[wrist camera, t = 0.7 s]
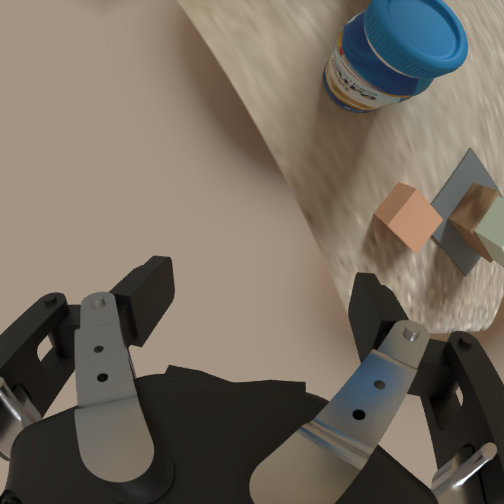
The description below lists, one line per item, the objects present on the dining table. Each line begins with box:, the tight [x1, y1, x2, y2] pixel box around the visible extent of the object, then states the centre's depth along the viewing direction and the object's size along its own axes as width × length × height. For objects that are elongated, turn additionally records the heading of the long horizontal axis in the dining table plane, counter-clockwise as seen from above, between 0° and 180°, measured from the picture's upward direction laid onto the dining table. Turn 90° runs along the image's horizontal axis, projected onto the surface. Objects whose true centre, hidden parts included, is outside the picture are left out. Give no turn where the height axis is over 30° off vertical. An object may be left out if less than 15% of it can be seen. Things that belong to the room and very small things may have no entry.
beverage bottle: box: [323, 0, 468, 113], centre depth 18 cm, size 8×8×20 cm
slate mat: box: [430, 148, 503, 276], centre depth 30 cm, size 14×14×1 cm
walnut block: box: [448, 183, 501, 263], centre depth 27 cm, size 7×7×6 cm
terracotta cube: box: [374, 182, 443, 254], centre depth 30 cm, size 6×6×6 cm
